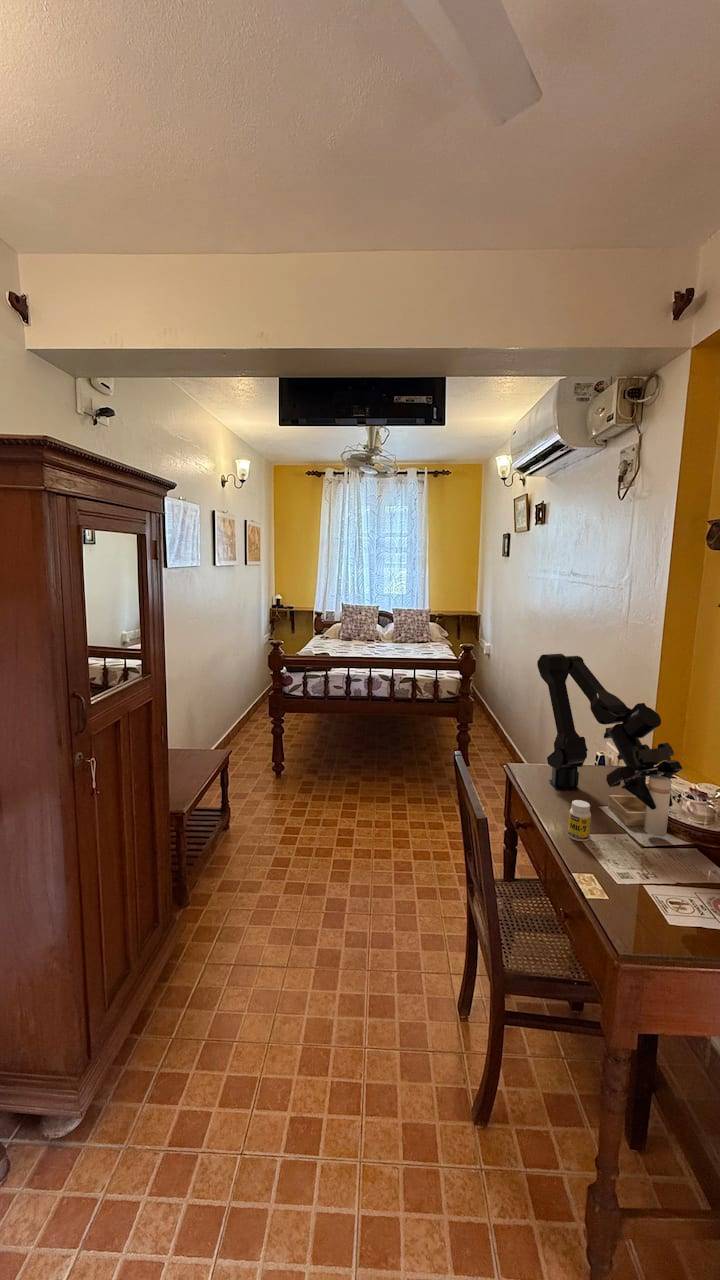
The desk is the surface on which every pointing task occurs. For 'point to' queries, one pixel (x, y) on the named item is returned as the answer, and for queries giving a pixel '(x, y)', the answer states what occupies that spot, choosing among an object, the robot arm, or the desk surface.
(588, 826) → the supplement bottle
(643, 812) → the tray
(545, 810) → the desk surface
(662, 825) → the vase
